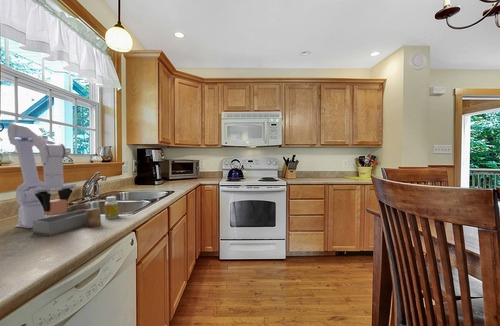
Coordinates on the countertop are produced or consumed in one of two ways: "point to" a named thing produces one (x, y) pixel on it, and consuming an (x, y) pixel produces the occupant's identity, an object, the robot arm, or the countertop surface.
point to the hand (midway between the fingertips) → (55, 209)
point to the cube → (57, 207)
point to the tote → (60, 223)
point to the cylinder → (93, 217)
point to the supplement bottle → (111, 208)
